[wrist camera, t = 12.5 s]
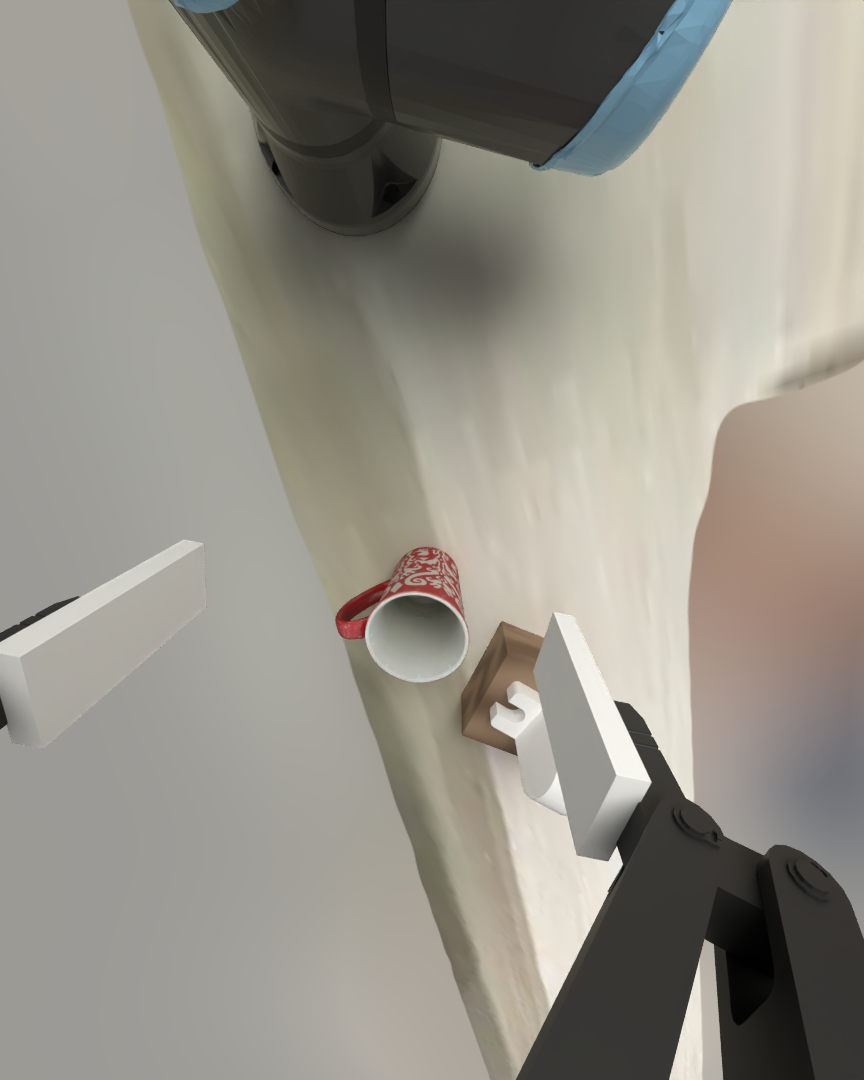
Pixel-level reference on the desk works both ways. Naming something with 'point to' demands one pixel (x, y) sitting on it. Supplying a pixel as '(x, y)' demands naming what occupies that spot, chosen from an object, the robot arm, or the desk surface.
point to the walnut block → (499, 683)
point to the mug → (412, 618)
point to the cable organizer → (530, 745)
